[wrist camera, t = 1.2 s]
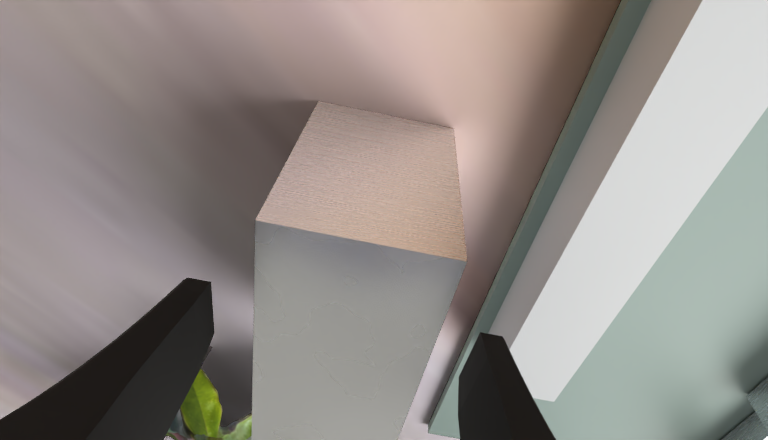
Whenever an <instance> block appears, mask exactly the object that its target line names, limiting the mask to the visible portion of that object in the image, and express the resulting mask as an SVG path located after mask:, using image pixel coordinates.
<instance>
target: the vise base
mask: <svg viewBox="0 0 768 440" xmlns="http://www.w3.org/2000/svg"><path fill="white" fill-rule="evenodd" d="M480 332H482V333H488V334H493V335H498V336H503V338H504V339H505V341H506V344H507V346H508V348H509V350H510V352H511V354H512V356H513V359H514V361H515V363H516V365H517V367H518V369H519V371H520V373H521V375H522V377H523V379H524V381H525V383H526V385H527V387H528V389H529V391H530V393H531V395H532V397H533V399H534V401H535V402H536V404H537V406H538V408H539V410H540V412H541V414H542V415H543V417H544V419H545V421H546V423H547V425H548V426H549V428H550V430H551V432H552V433H553V435H554V437H555V438H556V440H721V439H723V438H724V437H725V436H726V435H728V434H729V433H730V432H731V431H732V430H734V429H735V428H736V427H737V426H739V425H740V424H741V423H742V422H743V421H745V420H746V419H747V418H748V417H750V416H751V415H752V414H753V413H754V412H755V410H754V409H753V407H752V405H751V404H750V402H749V401H748V399H747V397H746V396H747V395H748V394H749V393H750V392H751V391H752V390H754V389H755V388H756V387H757V386H758V385H759V384H761V383H762V382H763V381H764V380H765V379H766V378H767V377H768V0H621V2H620V4H619V6H618V9H617V11H616V13H615V15H614V17H613V20H612V22H611V24H610V26H609V28H608V31H607V33H606V35H605V37H604V39H603V42H602V44H601V46H600V48H599V50H598V53H597V55H596V57H595V59H594V61H593V64H592V66H591V68H590V70H589V72H588V75H587V77H586V79H585V81H584V83H583V86H582V88H581V90H580V92H579V94H578V97H577V99H576V101H575V103H574V105H573V108H572V110H571V112H570V114H569V116H568V119H567V121H566V123H565V125H564V127H563V130H562V132H561V134H560V136H559V138H558V141H557V143H556V145H555V147H554V149H553V152H552V154H551V156H550V158H549V160H548V163H547V165H546V167H545V169H544V171H543V174H542V176H541V178H540V180H539V182H538V185H537V187H536V189H535V191H534V193H533V196H532V198H531V200H530V202H529V204H528V207H527V209H526V211H525V213H524V215H523V218H522V220H521V222H520V224H519V226H518V229H517V231H516V233H515V235H514V237H513V240H512V242H511V244H510V246H509V248H508V251H507V253H506V255H505V257H504V259H503V262H502V264H501V266H500V268H499V270H498V273H497V275H496V277H495V279H494V281H493V284H492V286H491V288H490V290H489V292H488V295H487V297H486V299H485V301H484V303H483V306H482V308H481V310H480V312H479V314H478V317H477V319H476V321H475V323H474V325H473V328H472V330H471V332H470V334H469V336H468V339H467V341H466V343H465V345H464V347H463V350H462V352H461V354H460V356H459V358H458V361H457V363H456V365H455V367H454V369H453V372H452V374H451V376H450V378H449V380H448V383H447V385H446V387H445V389H444V391H443V394H442V396H441V398H440V400H439V402H438V405H437V407H436V409H435V411H434V413H433V416H432V418H431V420H430V422H429V424H428V433H430V434H436V435H442V436H447V437H453V438H458V439H460V433H459V421H458V385H459V375H460V373H461V371H462V369H463V367H464V365H465V363H466V361H467V359H468V357H469V354H470V352H471V350H472V348H473V346H474V344H475V342H476V340H477V338H478V336H479V333H480Z"/></svg>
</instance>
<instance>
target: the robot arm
mask: <svg viewBox="0 0 768 440" xmlns="http://www.w3.org/2000/svg"><path fill="white" fill-rule="evenodd" d="M213 335H214V322H213V306H212V291H211V282H208V281H202V280H197V279H192V278H186V279H185V280H183V281H182V282H181V283H180V284H179V285H178V286H177V287H176V288H174V289H173V290H172V291H171V292H170V293H169V294H168V295H167V296H166V297H165V298H163V299H162V300H161V301H160V302H159V303H158V304H157V305H156V306H154V307H153V308H152V309H151V310H150V311H149V312H148V313H146V314H145V315H144V316H143V317H142V318H141V319H140V320H138V321H137V322H136V323H135V324H134V325H132V326H131V327H130V328H129V329H128V330H126V331H125V332H124V333H123V334H122V335H120V336H119V337H118V338H117V339H115V340H114V341H113V342H112V343H110V344H109V345H108V346H107V347H105V348H104V349H103V350H101V351H100V352H99V353H97V354H96V355H95V356H93V357H92V358H91V359H90V360H88V361H87V362H86V363H84V364H83V365H82V366H80V367H79V368H78V369H76V370H75V371H73V372H72V373H71V374H69V375H68V376H66V377H65V378H64V379H62V380H61V381H59V382H58V383H56V384H55V385H54V386H52V387H51V388H49V389H48V390H46V391H45V392H43V393H42V394H40V395H39V396H37V397H36V398H34V399H33V400H31V401H29V402H28V403H26V404H25V405H23V406H21V407H20V408H18V409H17V410H15V411H13V412H12V413H10V414H9V415H7V416H5V417H4V418H2V419H0V440H164V438H165V436H166V434H167V432H168V430H169V428H170V426H171V424H172V422H173V421H174V419H175V417H176V415H177V413H178V411H179V409H180V407H181V405H182V403H183V402H184V400H185V398H186V396H187V394H188V392H189V390H190V388H191V386H192V384H193V382H194V380H195V378H196V376H197V374H198V373H199V371H200V368H201V366H202V363H203V361H204V358H205V356H206V353H207V351H208V348H209V345H210V343H211V340H212V337H213ZM458 421H459V433H460V440H556V438H555V437H554V435H553V433H552V432H551V430H550V428H549V426H548V425H547V423H546V421H545V419H544V417H543V415H542V414H541V412H540V410H539V408H538V406H537V404H536V402H535V401H534V399H533V397H532V395H531V393H530V391H529V389H528V387H527V385H526V383H525V381H524V379H523V377H522V375H521V373H520V371H519V369H518V367H517V365H516V363H515V361H514V359H513V356H512V354H511V352H510V350H509V348H508V346H507V344H506V341H505V339H504V338H503V336H498V335H493V334H488V333H482V332H480V333H479V336H478V338H477V340H476V342H475V344H474V346H473V348H472V350H471V352H470V354H469V357H468V359H467V361H466V363H465V365H464V367H463V369H462V371H461V373H460V375H459V385H458Z"/></svg>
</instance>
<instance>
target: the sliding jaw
mask: <svg viewBox="0 0 768 440" xmlns="http://www.w3.org/2000/svg"><path fill="white" fill-rule="evenodd" d="M746 397H747V399H748V401H749V402H750V404H751V405H752V407H753V409H754V410H755V412H754V413H753V414H752V415H751V416H750V417H748V418H747V419H746V420H745V421H743V422H742V423H741V424H740V425H739V426H737V427H736V428H735V429H734V430H732V431H731V432H730V433H729V434H728V435H726V436H725V437H724V438H723V439H721V440H768V377H767V378H766V379H765V380H764V381H763V382H762V383H761V384H759V385H758V386H757V387H756V388H755V389H754V390H752V391H751V392H750V393H749V394H748V395H747V396H746Z"/></svg>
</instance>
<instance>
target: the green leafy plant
mask: <svg viewBox="0 0 768 440" xmlns="http://www.w3.org/2000/svg"><path fill="white" fill-rule="evenodd" d="M211 348H212V347H209V348H208V351H207V353H206V356H205V358H206V357H207V355H208V353H209V352H210V351H211ZM205 358H204V360H205ZM221 418H222V406H221V404H220V402H219V394H218V391H217V390H216V388H215V387H214V386H213V384H212V383H211V381H210V380H209V378H208V376H207V375H206V374H205V372H204V371H203V370H202V369H201V368H200V371H199V373H198V374H197V376H196V378H195V380H194V382H193V384H192V386H191V388H190V390H189V392H188V394H187V396H186V398H185V400H184V402H183V403H182V405H181V407H180V409H179V411H178V413H177V415H176V417H175V419H174V421H173V422H172V424H171V426H170V428H169V430H168V432H167V434H166V436H169V437H171V438H173V439H174V440H251V437H252V413H250V414H249V415H247V416H245V417H244V418H242V419H240V420H237V421H234V422H232V423H231V424H230V425H228V426H226V427H221V425H220V421H221Z"/></svg>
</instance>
